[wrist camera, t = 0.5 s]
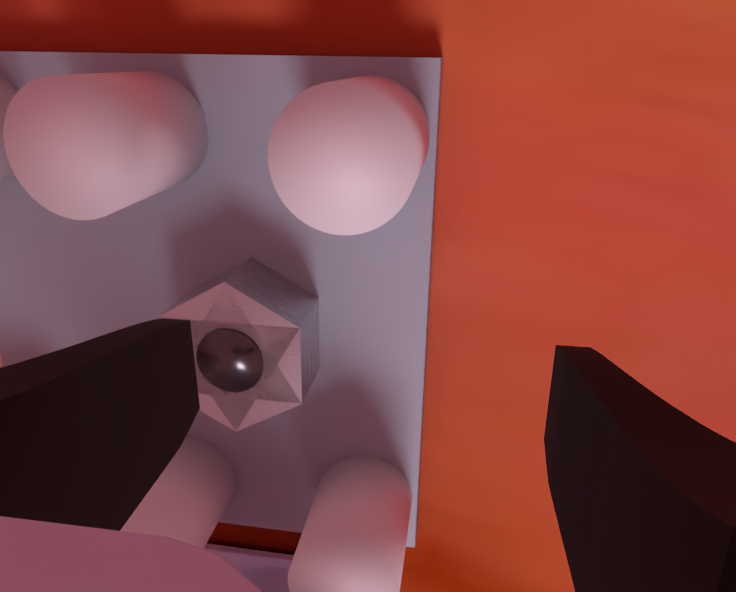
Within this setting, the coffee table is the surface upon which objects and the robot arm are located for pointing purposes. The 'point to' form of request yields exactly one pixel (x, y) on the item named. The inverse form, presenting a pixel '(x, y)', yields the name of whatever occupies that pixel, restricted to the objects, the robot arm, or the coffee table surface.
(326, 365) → the spacer board
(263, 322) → the hexagonal block with ball
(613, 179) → the coffee table surface
